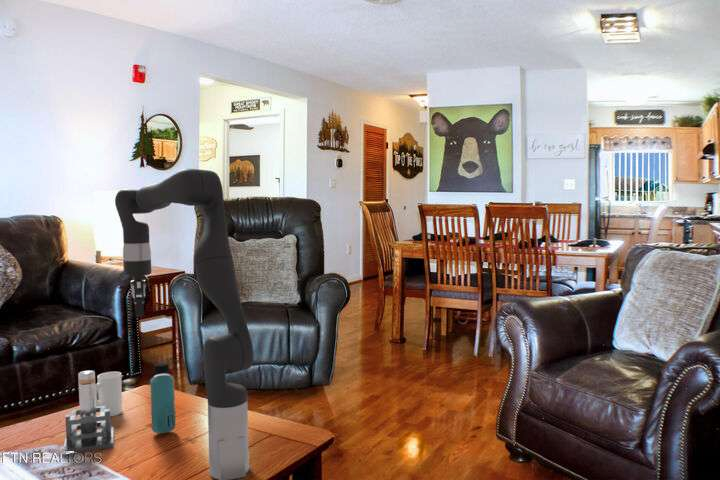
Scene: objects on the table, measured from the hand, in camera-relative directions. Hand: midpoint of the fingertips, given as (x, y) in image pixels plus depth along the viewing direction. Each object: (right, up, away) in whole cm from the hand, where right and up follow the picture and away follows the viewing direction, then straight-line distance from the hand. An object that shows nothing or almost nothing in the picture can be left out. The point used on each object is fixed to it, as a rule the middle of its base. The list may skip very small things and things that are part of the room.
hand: (139, 313), depth 170 cm
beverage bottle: (+9, -33, -7) cm, 35 cm away
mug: (-13, -32, +8) cm, 35 cm away
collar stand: (-9, -33, -12) cm, 36 cm away
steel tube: (-9, -32, -12) cm, 35 cm away
